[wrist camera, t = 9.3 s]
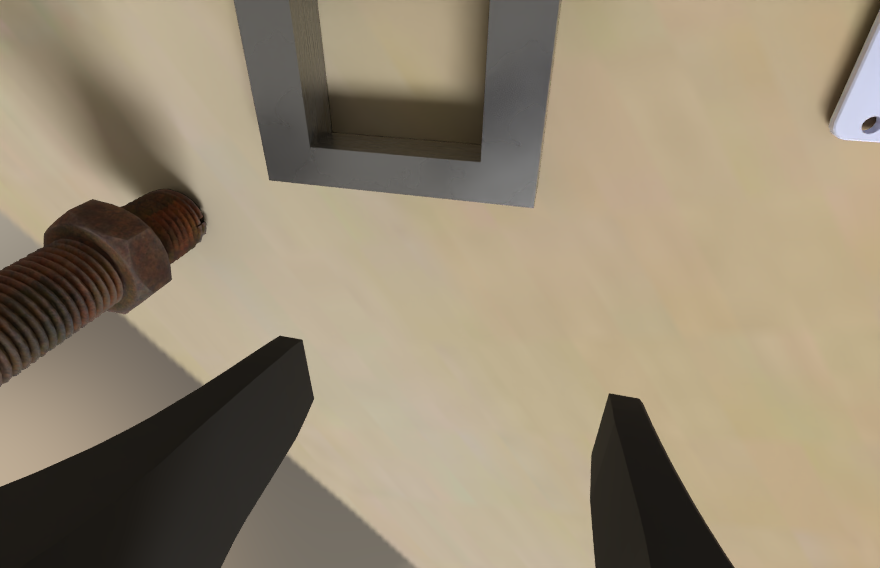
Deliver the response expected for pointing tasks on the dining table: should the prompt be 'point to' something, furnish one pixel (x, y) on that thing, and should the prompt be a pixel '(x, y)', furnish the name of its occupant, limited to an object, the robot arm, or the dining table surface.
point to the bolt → (91, 271)
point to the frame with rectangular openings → (398, 159)
